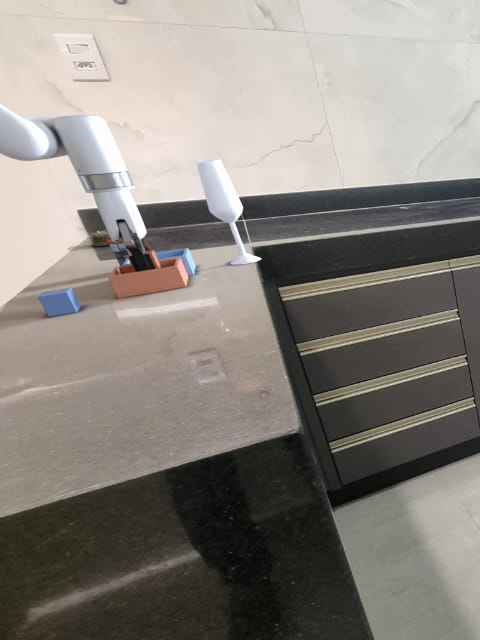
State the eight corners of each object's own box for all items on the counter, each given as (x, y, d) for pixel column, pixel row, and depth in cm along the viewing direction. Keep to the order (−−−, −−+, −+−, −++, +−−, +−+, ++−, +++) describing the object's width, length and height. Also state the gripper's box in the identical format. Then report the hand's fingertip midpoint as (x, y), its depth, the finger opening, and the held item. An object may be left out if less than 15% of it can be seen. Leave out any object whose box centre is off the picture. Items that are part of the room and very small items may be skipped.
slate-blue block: (48, 317, 100) (37, 297, 98) (53, 311, 103) (42, 292, 101) (77, 312, 102) (66, 292, 100) (81, 306, 105) (71, 287, 103)
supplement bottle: (149, 264, 134) (129, 219, 130) (157, 267, 131) (136, 221, 126) (119, 270, 130) (97, 224, 125) (126, 274, 127) (104, 226, 122)
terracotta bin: (118, 298, 109) (107, 276, 107) (125, 287, 116) (115, 266, 114) (186, 286, 115) (177, 266, 113) (188, 276, 122) (180, 257, 120)
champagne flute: (258, 256, 138) (222, 158, 128) (264, 260, 134) (228, 159, 123) (227, 261, 134) (188, 161, 124) (232, 266, 130) (192, 162, 119)
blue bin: (131, 284, 118) (122, 264, 116) (137, 275, 125) (128, 256, 123) (194, 274, 124) (185, 255, 122) (195, 266, 131) (188, 247, 129)
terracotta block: (136, 275, 112) (127, 256, 110) (138, 271, 115) (129, 253, 113) (160, 271, 114) (151, 253, 112) (161, 267, 117) (153, 249, 115)
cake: (101, 249, 157) (90, 232, 154) (90, 247, 162) (79, 229, 159) (141, 239, 164) (131, 222, 161) (129, 237, 169) (119, 220, 166)
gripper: (90, 181, 110) (131, 266, 118) (73, 188, 98) (120, 283, 106) (136, 177, 114) (173, 260, 122) (126, 184, 102) (167, 275, 110)
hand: (148, 270), depth 114 cm, fingers closed on terracotta block, 4 cm apart
